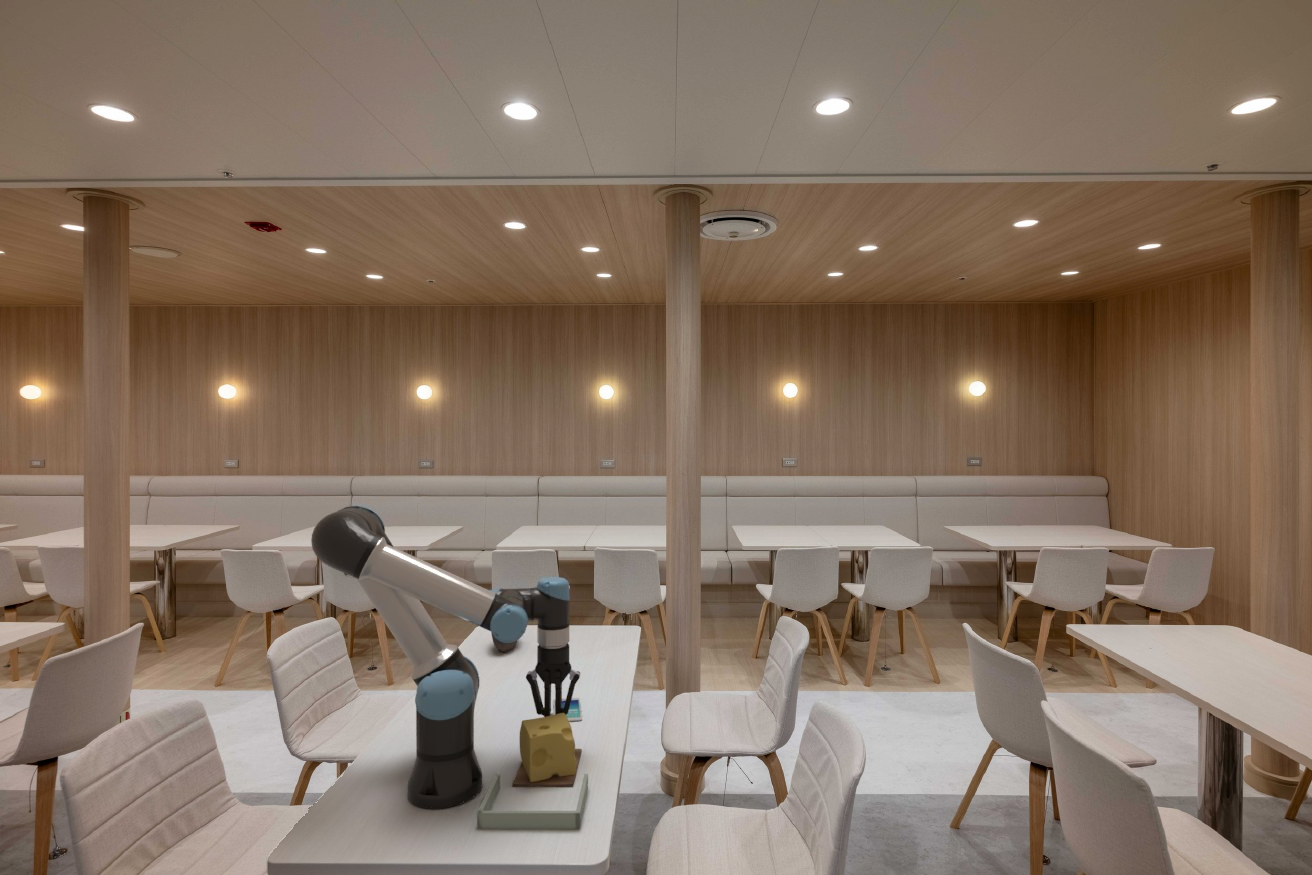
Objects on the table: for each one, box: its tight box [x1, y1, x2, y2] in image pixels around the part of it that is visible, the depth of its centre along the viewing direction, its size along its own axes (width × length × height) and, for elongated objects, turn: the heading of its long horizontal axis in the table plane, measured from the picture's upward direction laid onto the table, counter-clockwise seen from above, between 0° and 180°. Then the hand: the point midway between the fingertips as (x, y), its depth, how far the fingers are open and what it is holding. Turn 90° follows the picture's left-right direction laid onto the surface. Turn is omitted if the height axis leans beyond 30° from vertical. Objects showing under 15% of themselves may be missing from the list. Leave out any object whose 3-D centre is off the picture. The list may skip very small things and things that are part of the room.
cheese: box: [519, 713, 577, 782], centre depth 151 cm, size 10×11×10 cm
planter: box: [490, 631, 519, 653], centre depth 237 cm, size 15×17×20 cm
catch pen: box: [476, 773, 589, 830], centre depth 136 cm, size 15×20×3 cm
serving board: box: [511, 748, 583, 788], centre depth 152 cm, size 16×13×1 cm
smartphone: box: [553, 697, 583, 723], centre depth 184 cm, size 8×1×15 cm
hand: (552, 742), depth 161 cm, fingers closed
